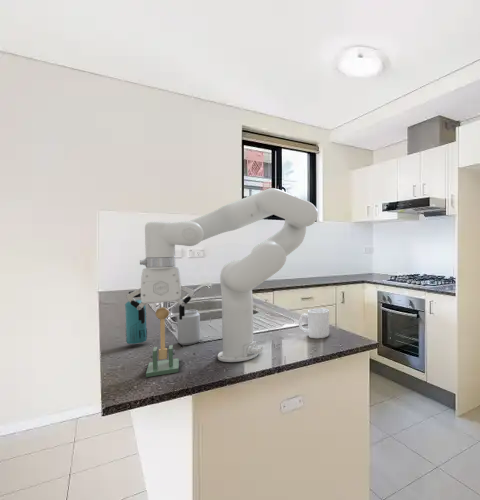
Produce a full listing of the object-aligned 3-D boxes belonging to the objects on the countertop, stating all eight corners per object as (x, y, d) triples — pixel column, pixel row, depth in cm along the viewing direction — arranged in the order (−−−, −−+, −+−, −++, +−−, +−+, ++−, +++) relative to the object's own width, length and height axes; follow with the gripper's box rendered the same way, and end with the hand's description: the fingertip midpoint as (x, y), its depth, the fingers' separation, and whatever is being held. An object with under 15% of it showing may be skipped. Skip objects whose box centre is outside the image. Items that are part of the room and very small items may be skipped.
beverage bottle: (139, 348, 126) (138, 292, 126) (121, 348, 126) (119, 292, 126) (151, 342, 133) (150, 289, 132) (134, 342, 133) (132, 289, 132)
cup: (327, 338, 137) (327, 312, 136) (296, 338, 137) (296, 312, 136) (330, 332, 145) (330, 308, 145) (301, 333, 145) (300, 308, 145)
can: (198, 344, 130) (197, 312, 130) (175, 346, 128) (174, 313, 127) (202, 339, 137) (201, 308, 137) (180, 340, 135) (179, 309, 135)
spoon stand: (149, 366, 108) (148, 345, 108) (179, 361, 112) (178, 341, 112) (145, 377, 99) (145, 354, 99) (178, 372, 103) (178, 350, 103)
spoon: (155, 307, 107) (154, 308, 104) (169, 306, 109) (168, 306, 106) (156, 358, 106) (155, 360, 103) (170, 356, 108) (169, 358, 105)
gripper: (123, 265, 97) (125, 327, 98) (193, 263, 106) (195, 319, 106) (127, 263, 104) (129, 321, 105) (193, 261, 112) (194, 315, 113)
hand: (162, 320), depth 105 cm, fingers open, 9 cm apart
